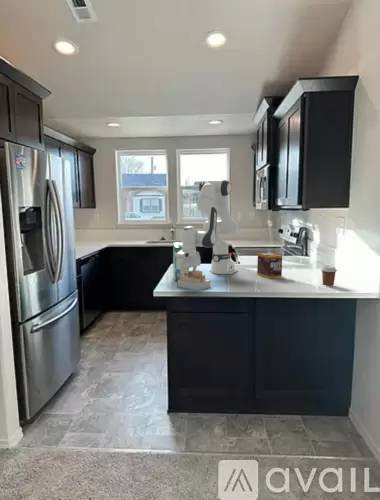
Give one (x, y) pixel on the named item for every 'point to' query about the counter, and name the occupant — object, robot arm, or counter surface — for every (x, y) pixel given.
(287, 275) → the counter surface
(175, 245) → the milk carton
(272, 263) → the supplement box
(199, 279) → the beige stepped block
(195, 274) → the salmon pink cube
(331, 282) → the coffee cup
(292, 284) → the counter surface
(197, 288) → the block
